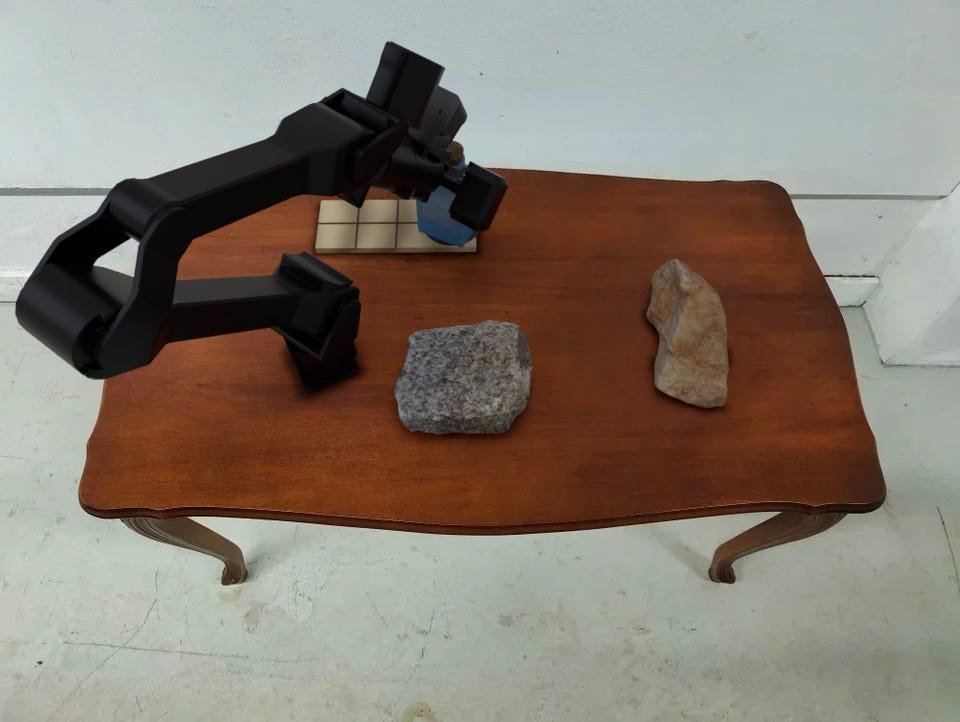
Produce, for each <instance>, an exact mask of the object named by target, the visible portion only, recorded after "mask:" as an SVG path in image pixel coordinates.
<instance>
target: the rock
mask: <svg viewBox="0 0 960 722" xmlns="http://www.w3.org/2000/svg"><path fill="white" fill-rule="evenodd" d="M533 368H534V366H533V362H532V357H531V354H530V345H529V341H528V339H527V335H526V334H525V332H523V330H522V329H521V327H520V325H519V324H517V323H514V322H508V321H505V320H504V321H498V320H493V319H485V320H482V321H480V322H477V323H475V324H469V325H467V324H466V325H452V326H448V327H446V326H444V327H443V326H442V327H437V328H432V329H420V330H416V331H415V332H412V333H411V334H410V336H409V337H408V338H407V341H406V354H405V356H404V361H403V366H402V369H401V370H400V373H399V375H398V377H397V379H396V382H395V386H394V391H393V393H392V394H393V395H394V398H395V400H396V401H397V411H398V415H399V420H400V421H402V424H403V426H404V427H405V429H407V430H408V431H410V432H412V433H413V432H416V431H421V432H425V433H427V434H435V435H436V436H437V435H442V434H449V433H455V434H458V433H460V434H461V433H462V434H496V435H501V434H503V433H505V432H506V431H508V430H510V429H511V426H512V424H513V421H514V420H515V418H517V416H519V415H520V414H522V413H523V412H524V411H525V410H526V408H527V405H528V401H529V400H530V395H531V393H530V387H531V381H532V373H533Z"/></svg>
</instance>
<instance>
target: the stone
mask: <svg viewBox="0 0 960 722" xmlns="http://www.w3.org/2000/svg"><path fill="white" fill-rule="evenodd" d="M650 282H651V289H652V290H651V294H650V303H649V306H648V307H647V310H646V319H647V321H648V322H649V323H650V324H651V325H652V326H654V328H655V330H656V331H657V334H658V337H659V339H658V341H659V344H658V349H657V354H656V357H655V361H654V365H653V366H654V367H653V371H654V386H655V387H656V389H658V390H659V391H660V392H662V393H664V394H666V395H668V396H670V397H673V398H675V399H678V400H680V401H682V402H684V403H686V404H688V405H694V406H697V407H699V408H700V407H701V408H703V409H704V408H705V409H711V408H714V407H723V406H724V405H726V403H727V400H728V397H727V396H728V393H729V392H728V391H729V387H728V383H727V380H728V379H727V378H728V375H729V371H730V367H729V353H728V346H727V345H728V327H727V326H728V325H727V316H726V315H727V314H726V312H725V308H724V307H723V303H722V301H721V297H720V295H719V293H718V292H717V291H716V290H715V289H714V288H713V287H712V286H711V285H710V284H708V282H707V281H706V280H705V279H704V278H703V277H702V276H701V275H699V274H698V273H697V272H694V271H693V270H692V269H691V268H690V267H689V266H688V265H687V264H686V263H684V262H682V261H681V260H679V259H677V258H673V259H670V260H668V261H666V262H665V264H662V265H660V266H659V267H658V269H656V270H655V272H654V273H653V276H652V277H651V280H650Z"/></svg>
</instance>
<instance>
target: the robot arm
mask: <svg viewBox="0 0 960 722" xmlns="http://www.w3.org/2000/svg"><path fill="white" fill-rule="evenodd" d="M384 43H385V44H384V47H383V48H382V52H381V54H380V58H379V62H378V65H377V68H376V71H375V73H374V76H373V78H372V81H371V83H370V86H369V89H368V90H367V93H366V96H365V97H364V96H361V95H359V94H357V93H354V92H352V91H350V90H348V89H347V88H345V87H341V88H339V89H337V90H336V91H334V92H332V93H331V94H329V95H327V96H323V98H322V99H320V100H319V101H317V102H312V103H309V104H307V105H305V106H303V107H301V108H299V109H297V110H296V111H294V112H292V113H290V114H288V115H286V116H284V117H283V118H282V119H280V122H279V123H278V126H277V128H276V130H275V132H274V133H273V134H272V135H270V136H268V137H266V138H265V139H262V140H259V141H256V142H253V143H250V144H246V145H243V146H240V147H238V148H234V149H232V150H228V151H226V152H223V153H219V154H217V155H214V156H210V157H208V158H204V159H202V160H199V161H196V162H192V163H190V164H189V163H188V164H186V165H183V166H181V167H177V168H175V169H171V170H168V171H165V172H162V173H159V174H157V175H153V176H151V177H148V178H147V177H146V178H136V177H131V178H124V179H122V180H121V181H119V182H117V183H116V184H115V185H114V186H113V187H112V188H111V190H109V192H108V194H107V195H106V196H105V198H104V200H103V201H102V202H101V204H100V205H99V207H98V208H97V210H96V211H95V212H94V213H93V214H91V215H89V216H88V217H86V218H84V219H83V220H81V221H80V222H78V223H77V224H75V225H73V226H72V227H70V228H68V229H67V230H65V231H63V232H62V233H60V234H59V235H57V237H55V238H54V239H53V240H52V242H51V243H50V245H49V247H48V248H47V249H46V252H44V254H43V256H42V257H41V259H40V260H39V262H38V263H37V265H36V267H35V268H34V269H33V270H32V273H31V274H30V275H29V276H28V278H27V280H26V281H25V283H24V285H23V286H22V288H21V290H20V291H19V293H18V295H17V298H16V301H15V308H14V315H15V318H16V321H17V323H18V325H19V326H20V327H21V328H22V329H23V330H24V331H25V332H27V333H28V334H29V335H31V336H32V337H33V338H34V339H36V340H37V341H38V342H39V343H41V344H42V345H43V346H45V347H46V348H47V349H49V350H50V351H51V352H52V353H54V354H55V355H56V356H58V357H59V358H60V359H61V360H63V361H64V362H65V363H67V364H68V365H69V366H71V368H73V369H75V370H76V371H77V372H78V373H79V374H81V375H82V376H84V377H86V378H87V379H89V380H93V381H100V380H101V381H104V380H107V379H111V378H115V377H117V376H120V375H123V374H126V373H128V372H132V371H135V370H138V369H140V368H144V367H146V366H149V365H150V364H152V363H153V361H154V360H155V359H156V358H157V356H158V355H160V353H161V352H162V350H163V349H164V348H165V347H166V346H167V345H169V344H174V343H180V342H188V341H193V340H194V341H195V340H200V339H201V340H202V339H206V338H213V337H220V336H227V335H233V334H239V333H246V332H252V331H259V330H265V329H270V330H272V331H273V332H275V333H276V334H278V335H279V336H281V337H282V338H283V340H284V343H285V345H286V348H287V350H288V351H287V352H288V353H289V357H290V359H291V362H292V364H293V366H294V369H295V372H296V374H297V377H298V379H299V382H300V384H301V387H302V390H303V392H304V393H305V394H311V393H313V392H317V391H318V390H319V391H320V390H321V389H325V388H327V387H329V386H332V385H334V384H336V383H339V382H340V383H341V382H343V381H345V380H347V379H350V378H352V377H355V376H358V375H359V374H360V368H359V365H358V363H357V360H356V358H357V357H358V355H359V354H358V351H357V347H356V343H355V340H357V338H358V336H359V329H360V328H359V327H360V322H361V321H360V320H361V312H362V303H361V301H360V294H361V290H360V288H359V287H357V286H356V285H354V284H353V283H354V279H351V278H349V277H348V276H346V275H345V274H343V273H341V272H340V271H338V270H336V269H335V268H333V267H332V266H330V265H328V264H327V263H325V262H324V261H322V260H320V259H319V258H317V257H315V256H314V255H313V254H311V253H309V252H308V251H306V250H303V251H301V252H299V253H295V254H292V253H288V252H283V253H282V255H281V259H280V262H279V263H278V265H277V266H276V268H275V269H274V270H273V272H272V273H271V274H268V275H253V276H252V275H251V276H234V277H232V276H231V277H214V278H213V277H210V278H193V279H177V276H178V271H179V270H178V269H179V263H180V261H181V259H182V258H183V256H184V255H185V253H186V252H187V250H188V248H189V247H190V246H191V244H192V242H193V240H196V239H198V238H201V237H203V236H205V235H208V234H210V233H213V232H215V231H218V230H220V229H222V228H224V227H227V226H229V225H232V224H233V223H236V222H238V221H241V220H243V219H246V218H247V217H248V218H249V217H251V216H253V215H256V214H257V213H260V212H262V211H264V210H267V209H269V208H273V207H274V206H276V205H279V204H281V203H283V202H286V201H288V200H290V199H292V198H295V197H299V196H304V195H307V196H318V197H327V198H328V197H329V198H332V197H337V198H339V199H340V200H344V201H346V202H348V203H349V204H351V205H353V206H354V207H356V208H358V209H360V208H361V207H362V206H363V204H364V201H365V200H367V196H368V193H369V191H370V189H376V190H381V191H387V192H389V193H391V194H393V195H395V196H397V197H398V198H400V199H401V200H410V199H411V197H412V198H413V199H414V200H416V199H417V200H419V201H421V202H423V203H427V202H428V199H429V197H430V195H431V193H434V192H435V190H436V189H437V188H438V187H439V185H441V186H443V187H444V188H446V189H448V190H450V191H452V193H451V194H452V195H454V199H453V201H452V203H451V205H450V208H449V210H448V212H449V213H450V218H452V219H454V220H455V221H457V222H459V223H461V224H463V225H465V226H466V227H468V228H470V229H472V230H474V231H476V232H479V233H483V232H486V231H489V230H490V228H491V225H492V224H493V222H494V219H495V217H496V215H497V213H498V210H499V208H500V206H501V204H502V202H503V200H504V197H505V195H506V193H507V190H508V189H509V187H510V186H509V183H508V179H507V178H506V177H504V176H502V175H500V174H498V173H496V172H495V171H492V170H491V169H488V168H486V167H484V166H481V165H480V164H477V163H476V162H473V161H471V160H470V161H469V162H468V164H467V165H468V167H463V168H462V169H461V170H458V169H457V168H455V167H453V166H451V165H449V164H448V163H449V161H450V158H451V156H452V154H453V152H451V151H449V150H447V148H448V146H449V145H450V144H451V142H452V141H454V139H455V138H456V136H457V135H458V133H459V131H460V129H461V128H462V127H463V125H465V123H466V122H467V119H468V112H467V111H466V108H465V107H464V104H463V102H462V101H461V98H460V96H459V95H458V94H456V93H454V92H453V91H450V90H448V89H446V88H444V87H443V86H440V83H441V81H442V78H443V75H444V74H445V71H446V67H444V66H443V65H442V64H439V63H438V62H435V61H433V60H432V59H430V58H427V57H425V56H423V55H421V54H419V53H416V52H415V51H413V50H411V49H408V48H406V47H404V46H402V45H400V44H399V43H396V42H394V41H392V40H390V41H389V40H387V41H386V42H384ZM444 173H445V174H446V173H447V175H450V176H451V177H452V176H453V178H456V180H457V181H454V180H452V179H451V178H449V177H447V176H445V175H444ZM131 239H133V240H134V241H135V242H137V243H139V244H138V245H137V252H136V259H135V265H134V272H133V275H129V274H126V273H124V272H120V271H117V270H114V269H111V268H109V267H105V266H101V265H100V266H99V265H95V264H96V263H97V261H98V260H99V259H100V258H102V257H103V256H104V255H106V254H108V253H110V252H111V251H113V250H114V249H116V248H118V247H120V246H121V245H123V244H125V243H126V242H128V241H129V240H131ZM355 370H356V371H355Z"/></svg>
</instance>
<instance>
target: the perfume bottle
mask: <svg viewBox="0 0 960 722" xmlns="http://www.w3.org/2000/svg"><path fill="white" fill-rule="evenodd" d="M447 150H449V151H451V152H453V154H452V156H451V158H450V161H449V163H448V164H449V165H451V166H453V167H455V168H457V169H458V170H461V169H462V168H463V167H468V164H467V163H466V156H465V148H464V146H463V145H462V144H461V143H460V142H458V141H456V140H453V141H452V142H451V144H450V145H449V146H448V148H447ZM444 175H445V176H447V177H449V178H451V179H452V180H454V181H457V180H456V178H453V176H452V177H451V176H450V175H447V173H446V174H445V173H444ZM451 193H452V191H450V190H448V189H446V188H444V187H443V186H441V185H439V187H438V188H437V189H436V190H435V192H434V193H431V195H430V197H429V199H428V202H427V203H423V202H421V201H419V200H417V199H415V200H416V208H417V220H418V231H420V232H422V233H425V234H427V235H430V236H433V237H435V238H438V239H440V240H443V241H445V242H448V243H450V244H453V245H455V246H458V247H460V248H463V246H464V245H465V243H466V242H467V240H468V239H469V237H470V236H471V234H472V233H473V231H474V230H472V229H470V228H468V227H466V226H465V225H463V224H461V223H459V222H457V221H455V220H454V219H452V218H450V213H449V212H448V210H449V208H450V205H451V203H452V201H453V199H454V195H452V194H451Z"/></svg>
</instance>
